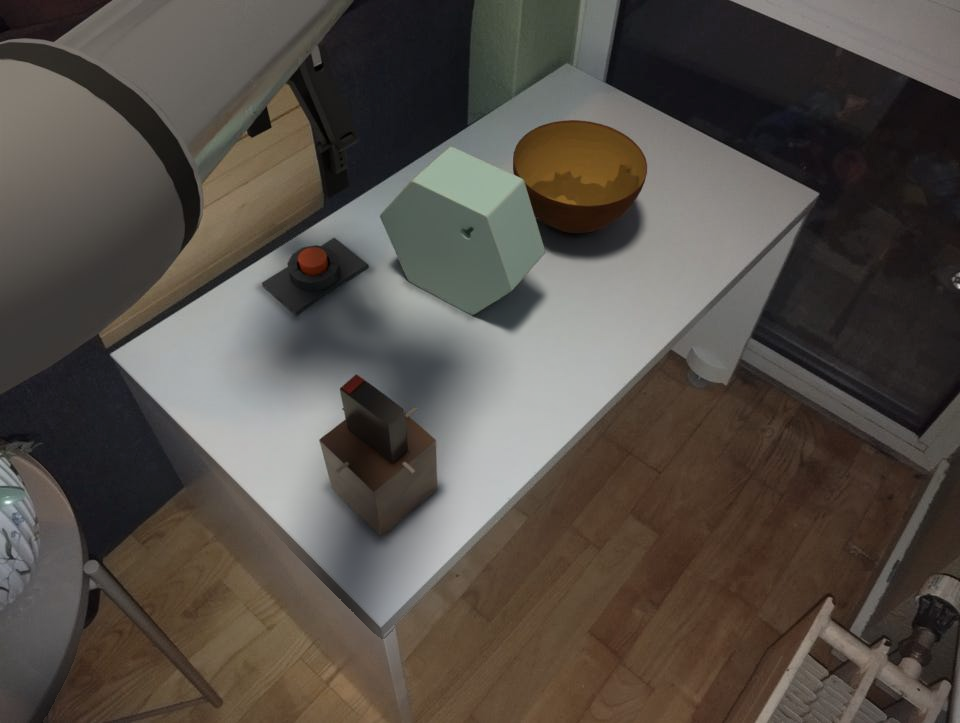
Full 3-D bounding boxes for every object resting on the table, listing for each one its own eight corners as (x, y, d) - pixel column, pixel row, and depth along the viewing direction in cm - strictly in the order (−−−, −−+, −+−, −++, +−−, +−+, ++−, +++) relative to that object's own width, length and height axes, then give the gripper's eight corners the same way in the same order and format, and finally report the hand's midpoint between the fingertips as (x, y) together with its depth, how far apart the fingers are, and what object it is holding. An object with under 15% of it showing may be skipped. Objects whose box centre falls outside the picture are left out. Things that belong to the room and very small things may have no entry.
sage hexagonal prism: (484, 293, 106) (573, 234, 88) (452, 328, 102) (538, 274, 84) (399, 200, 103) (473, 121, 85) (362, 233, 99) (432, 156, 81)
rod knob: (408, 449, 74) (404, 407, 68) (392, 464, 72) (387, 423, 67) (363, 415, 76) (356, 371, 70) (347, 429, 75) (338, 386, 69)
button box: (296, 315, 96) (292, 302, 94) (262, 286, 99) (258, 272, 97) (368, 267, 102) (367, 254, 100) (334, 241, 104) (332, 227, 102)
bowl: (484, 228, 107) (487, 170, 99) (548, 162, 116) (555, 104, 108) (596, 281, 101) (608, 225, 93) (654, 208, 110) (669, 150, 102)
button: (311, 280, 97) (309, 271, 96) (294, 265, 99) (292, 256, 97) (333, 265, 99) (332, 257, 97) (316, 251, 100) (314, 242, 99)
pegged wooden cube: (380, 552, 78) (372, 506, 70) (316, 488, 82) (302, 438, 74) (452, 488, 82) (452, 439, 74) (388, 430, 86) (382, 378, 78)
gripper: (141, -75, 70) (202, 122, 87) (312, 37, 60) (343, 235, 77) (211, -100, 73) (257, 95, 90) (385, 3, 63) (399, 200, 80)
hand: (297, 160), depth 83 cm, fingers open, 13 cm apart
